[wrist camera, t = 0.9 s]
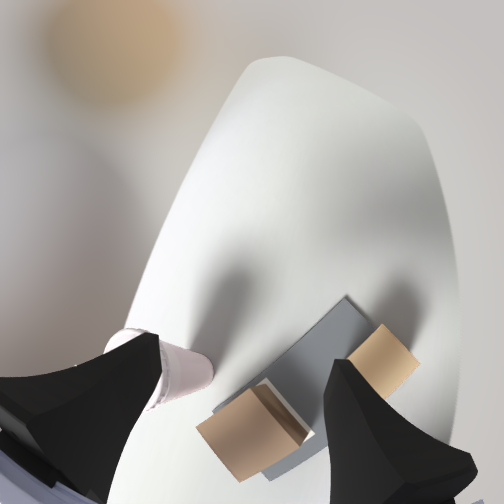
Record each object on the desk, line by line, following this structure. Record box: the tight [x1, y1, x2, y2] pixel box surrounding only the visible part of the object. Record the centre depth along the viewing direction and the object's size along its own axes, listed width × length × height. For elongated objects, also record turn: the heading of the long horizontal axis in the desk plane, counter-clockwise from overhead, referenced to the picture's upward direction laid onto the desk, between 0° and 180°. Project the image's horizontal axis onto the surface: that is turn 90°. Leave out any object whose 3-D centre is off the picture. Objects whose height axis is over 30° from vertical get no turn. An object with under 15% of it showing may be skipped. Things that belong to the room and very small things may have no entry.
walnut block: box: [196, 384, 309, 483], centre depth 19 cm, size 6×6×4 cm
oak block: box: [347, 324, 421, 400], centre depth 18 cm, size 4×4×5 cm
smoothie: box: [76, 328, 214, 413], centre depth 19 cm, size 6×6×14 cm
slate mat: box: [212, 298, 376, 481], centre depth 21 cm, size 9×16×1 cm, turn 129°
